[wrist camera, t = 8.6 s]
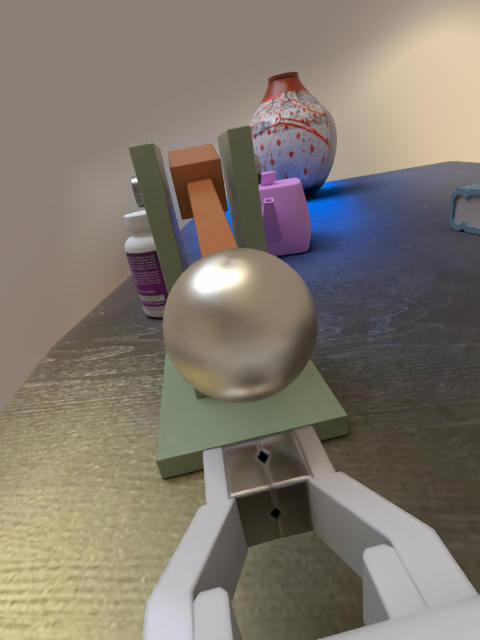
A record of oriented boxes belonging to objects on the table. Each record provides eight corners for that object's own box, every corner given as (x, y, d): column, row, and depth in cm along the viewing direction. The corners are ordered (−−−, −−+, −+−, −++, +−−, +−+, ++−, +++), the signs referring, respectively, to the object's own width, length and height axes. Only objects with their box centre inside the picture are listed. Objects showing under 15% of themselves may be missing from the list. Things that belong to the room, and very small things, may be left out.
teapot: (318, 260, 42) (311, 168, 37) (232, 271, 43) (216, 185, 39) (307, 229, 58) (301, 162, 53) (244, 238, 59) (234, 174, 55)
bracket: (348, 434, 17) (334, 100, 11) (162, 479, 16) (41, 151, 10) (283, 328, 27) (258, 133, 22) (170, 353, 27) (114, 159, 21)
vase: (267, 196, 108) (254, 91, 96) (344, 186, 99) (340, 69, 87) (238, 211, 89) (218, 83, 78) (330, 201, 80) (323, 53, 68)
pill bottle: (185, 317, 32) (158, 212, 28) (135, 320, 34) (103, 221, 30) (203, 295, 37) (182, 202, 33) (158, 299, 39) (133, 210, 34)
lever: (338, 414, 8) (351, 289, 6) (187, 450, 8) (139, 334, 6) (234, 200, 19) (224, 126, 17) (169, 212, 19) (149, 140, 16)
